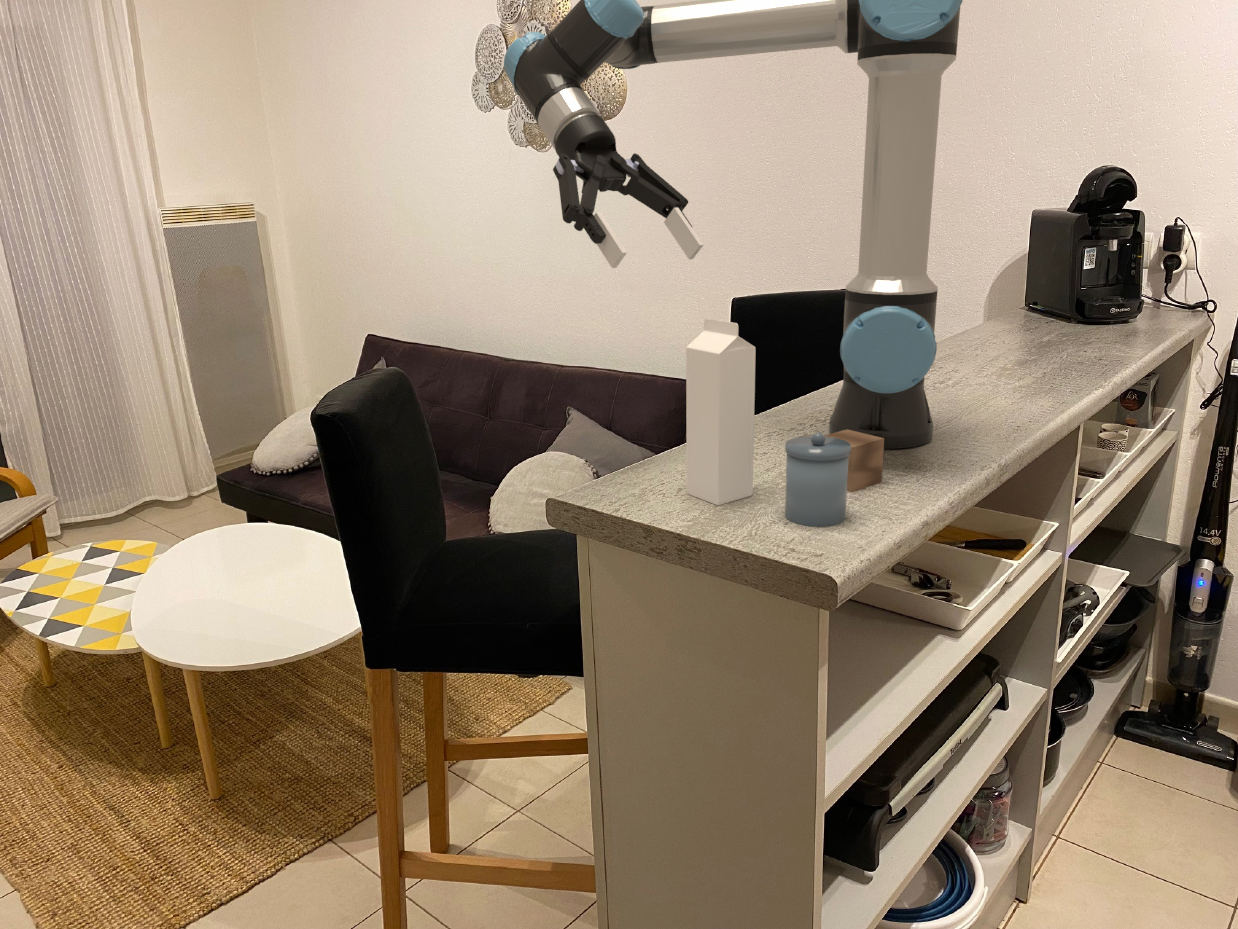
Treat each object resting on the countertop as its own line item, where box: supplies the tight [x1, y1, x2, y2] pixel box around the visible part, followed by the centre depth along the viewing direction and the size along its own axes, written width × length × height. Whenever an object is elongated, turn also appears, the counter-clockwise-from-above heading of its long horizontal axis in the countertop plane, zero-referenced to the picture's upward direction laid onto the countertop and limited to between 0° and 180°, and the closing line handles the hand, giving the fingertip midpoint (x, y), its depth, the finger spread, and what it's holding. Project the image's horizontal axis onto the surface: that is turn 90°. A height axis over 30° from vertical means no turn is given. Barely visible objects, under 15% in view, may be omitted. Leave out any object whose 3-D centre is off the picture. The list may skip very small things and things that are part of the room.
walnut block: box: [823, 429, 885, 493], centre depth 123 cm, size 6×6×6 cm
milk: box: [685, 317, 756, 506], centre depth 117 cm, size 6×6×22 cm
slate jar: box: [784, 432, 851, 528], centre depth 111 cm, size 7×7×10 cm
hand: (659, 256), depth 120 cm, fingers open, 13 cm apart
